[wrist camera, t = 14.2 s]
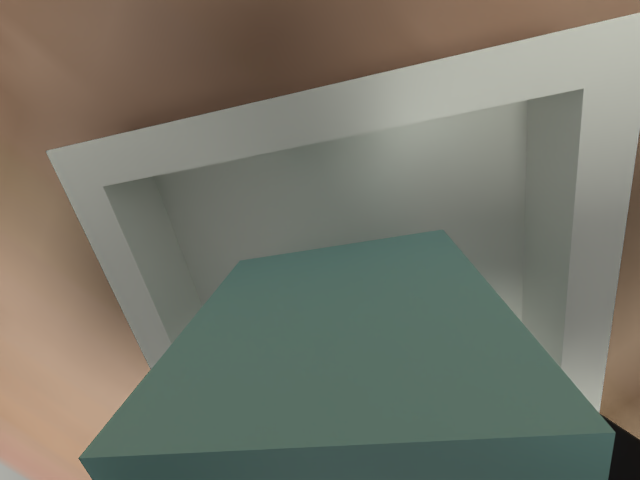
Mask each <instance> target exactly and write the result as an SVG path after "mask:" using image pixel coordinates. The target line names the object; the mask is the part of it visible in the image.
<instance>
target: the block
mask: <svg viewBox="0 0 640 480" xmlns="http://www.w3.org/2000/svg"><path fill="white" fill-rule="evenodd" d="M615 433H616V432H615V431H614V430H613V429H612V428H611V427H610V425H609V424H608V423H607V422H606V421H605V420H604V418H603V417H602V416H601V415H600V414H599V412H598V411H597V410H596V409H595V408H594V407H593V405H592V404H591V403H590V402H589V401H588V400H587V398H586V397H585V396H584V395H583V394H582V392H581V391H580V390H579V389H578V388H577V387H576V385H575V384H574V383H573V382H572V381H571V380H570V378H569V377H568V376H567V375H566V374H565V372H564V371H563V370H562V369H561V368H560V367H559V365H558V364H557V363H556V362H555V361H554V359H553V358H552V357H551V356H550V355H549V354H548V352H547V351H546V350H545V349H544V348H543V347H542V345H541V344H540V343H539V342H538V341H537V339H536V338H535V337H534V336H533V335H532V334H531V332H530V331H529V330H528V329H527V328H526V327H525V325H524V324H523V323H522V322H521V321H520V319H519V318H518V317H517V316H516V315H515V314H514V312H513V311H512V310H511V309H510V308H509V307H508V305H507V304H506V303H505V302H504V301H503V299H502V298H501V297H500V296H499V295H498V294H497V292H496V291H495V290H494V289H493V288H492V287H491V285H490V284H489V283H488V282H487V281H486V279H485V278H484V277H483V276H482V275H481V274H480V272H479V271H478V270H477V269H476V268H475V267H474V265H473V264H472V263H471V262H470V261H469V259H468V258H467V257H466V256H465V255H464V254H463V252H462V251H461V250H460V249H459V248H458V247H457V245H456V244H455V243H454V242H453V241H452V239H451V238H450V237H449V236H448V235H447V234H446V232H445V231H444V230H443V229H442V230H436V231H429V232H423V233H416V234H410V235H403V236H397V237H390V238H384V239H377V240H371V241H364V242H358V243H351V244H345V245H338V246H332V247H325V248H319V249H312V250H306V251H299V252H293V253H286V254H280V255H273V256H266V257H260V258H253V259H247V260H240V261H239V262H238V263H237V265H236V266H235V267H234V268H233V269H232V271H231V272H230V273H229V274H228V276H227V277H226V278H225V279H224V281H223V282H222V283H221V284H220V285H219V287H218V288H217V289H216V290H215V292H214V293H213V294H212V295H211V296H210V298H209V299H208V300H207V301H206V303H205V304H204V305H203V306H202V307H201V309H200V310H199V311H198V312H197V314H196V315H195V316H194V317H193V319H192V320H191V321H190V322H189V323H188V325H187V326H186V327H185V328H184V330H183V331H182V332H181V333H180V334H179V336H178V337H177V338H176V339H175V341H174V342H173V343H172V344H171V345H170V347H169V348H168V349H167V350H166V352H165V353H164V354H163V355H162V357H161V358H160V359H159V360H158V361H157V363H156V364H155V365H154V366H153V368H152V369H151V370H150V371H149V372H148V374H147V375H146V376H145V377H144V379H143V380H142V381H141V382H140V383H139V385H138V386H137V387H136V388H135V390H134V391H133V392H132V393H131V395H130V396H129V397H128V398H127V399H126V401H125V402H124V403H123V404H122V406H121V407H120V408H119V409H118V410H117V412H116V413H115V414H114V415H113V417H112V418H111V419H110V420H109V421H108V423H107V424H106V425H105V426H104V428H103V429H102V430H101V431H100V433H99V434H98V435H97V436H96V437H95V439H94V440H93V441H92V442H91V444H90V445H89V446H88V447H87V448H86V450H85V451H84V452H83V453H82V455H81V456H80V457H79V460H80V461H81V463H82V464H83V466H84V467H85V469H86V470H87V472H88V473H89V475H90V477H91V478H92V480H608V477H609V471H610V464H611V458H612V452H613V446H614V439H615Z"/></svg>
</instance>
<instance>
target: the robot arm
mask: <svg viewBox="0 0 640 480" xmlns="http://www.w3.org/2000/svg"><path fill="white" fill-rule="evenodd" d="M599 414H600V413H599ZM600 415H601V414H600ZM601 416H602V417H603V418H604V420H605V421H606V422H607V423H608V424H609V425H610V427H611V428H612V429H613V430H614V431H615V432H616V433H615V439H614V446H613V452H612V458H611V464H610V471H609V477H608V480H640V440H639V439H638V438H636V437H635V436H633V435H632V434H630V433H629V432H627V431H626V430H624V429H622V428H621V427H619V426H618V425H616V424H615V423H613V422H612V421H610V420H609V419H607V418H606V417H604V416H603V415H601Z"/></svg>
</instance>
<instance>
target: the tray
mask: <svg viewBox="0 0 640 480" xmlns="http://www.w3.org/2000/svg"><path fill="white" fill-rule="evenodd" d="M639 131H640V13H636V14H631V15H627V16H623V17H618V18H614V19H610V20H606V21H601V22H597V23H593V24H588V25H584V26H580V27H576V28H571V29H567V30H563V31H558V32H554V33H550V34H545V35H541V36H537V37H533V38H528V39H524V40H520V41H515V42H511V43H507V44H503V45H498V46H494V47H490V48H485V49H481V50H477V51H472V52H468V53H464V54H460V55H455V56H451V57H447V58H442V59H438V60H434V61H430V62H425V63H421V64H417V65H412V66H408V67H404V68H399V69H395V70H391V71H387V72H382V73H378V74H374V75H369V76H365V77H361V78H357V79H352V80H348V81H344V82H339V83H335V84H331V85H326V86H322V87H318V88H314V89H309V90H305V91H301V92H296V93H292V94H288V95H284V96H279V97H275V98H271V99H266V100H262V101H258V102H253V103H249V104H245V105H241V106H236V107H232V108H228V109H223V110H219V111H215V112H211V113H206V114H202V115H198V116H193V117H189V118H185V119H180V120H176V121H172V122H168V123H163V124H159V125H155V126H150V127H146V128H142V129H138V130H133V131H129V132H125V133H120V134H116V135H112V136H107V137H103V138H99V139H95V140H90V141H86V142H82V143H77V144H73V145H69V146H65V147H60V148H56V149H52V150H47V151H46V153H47V155H48V157H49V159H50V161H51V163H52V166H53V168H54V170H55V172H56V174H57V176H58V178H59V180H60V182H61V184H62V186H63V188H64V190H65V193H66V195H67V197H68V199H69V201H70V203H71V205H72V207H73V209H74V211H75V213H76V215H77V218H78V220H79V222H80V224H81V226H82V228H83V230H84V232H85V234H86V236H87V238H88V240H89V242H90V245H91V247H92V249H93V251H94V253H95V255H96V257H97V259H98V261H99V263H100V265H101V267H102V270H103V272H104V274H105V276H106V278H107V280H108V282H109V284H110V286H111V288H112V290H113V292H114V294H115V297H116V299H117V301H118V303H119V305H120V307H121V309H122V311H123V313H124V315H125V317H126V319H127V322H128V324H129V326H130V328H131V330H132V332H133V334H134V336H135V338H136V340H137V342H138V344H139V347H140V349H141V351H142V353H143V355H144V357H145V359H146V361H147V363H148V365H149V367H150V369H152V368H153V366H154V365H155V364H156V363H157V361H158V360H159V359H160V358H161V357H162V355H163V354H164V353H165V352H166V350H167V349H168V348H169V347H170V345H171V344H172V343H173V342H174V341H175V339H176V338H177V337H178V336H179V334H180V333H181V332H182V331H183V330H184V328H185V327H186V326H187V325H188V323H189V322H190V321H191V320H192V319H193V317H194V316H195V315H196V314H197V312H198V311H199V310H200V309H201V307H202V306H203V305H204V304H205V303H206V301H207V300H208V299H209V298H210V296H211V295H212V294H213V293H214V292H215V290H216V289H217V288H218V287H219V285H220V284H221V283H222V282H223V281H224V279H225V278H226V277H227V276H228V274H229V273H230V272H231V271H232V269H233V268H234V267H235V266H236V265H237V263H238V262H239V261H240V260H247V259H253V258H260V257H266V256H273V255H280V254H286V253H293V252H299V251H306V250H312V249H319V248H325V247H332V246H338V245H345V244H351V243H358V242H364V241H371V240H377V239H384V238H390V237H397V236H403V235H410V234H416V233H423V232H429V231H436V230H442V229H443V230H444V231H445V232H446V234H447V235H448V236H449V237H450V238H451V239H452V241H453V242H454V243H455V244H456V245H457V247H458V248H459V249H460V250H461V251H462V252H463V254H464V255H465V256H466V257H467V258H468V259H469V261H470V262H471V263H472V264H473V265H474V267H475V268H476V269H477V270H478V271H479V272H480V274H481V275H482V276H483V277H484V278H485V279H486V281H487V282H488V283H489V284H490V285H491V287H492V288H493V289H494V290H495V291H496V292H497V294H498V295H499V296H500V297H501V298H502V299H503V301H504V302H505V303H506V304H507V305H508V307H509V308H510V309H511V310H512V311H513V312H514V314H515V315H516V316H517V317H518V318H519V319H520V321H521V322H522V323H523V324H524V325H525V327H526V328H527V329H528V330H529V331H530V332H531V334H532V335H533V336H534V337H535V338H536V339H537V341H538V342H539V343H540V344H541V345H542V347H543V348H544V349H545V350H546V351H547V352H548V354H549V355H550V356H551V357H552V358H553V359H554V361H555V362H556V363H557V364H558V365H559V367H560V368H561V369H562V370H563V371H564V372H565V374H566V375H567V376H568V377H569V378H570V380H571V381H572V382H573V383H574V384H575V385H576V387H577V388H578V389H579V390H580V391H581V392H582V394H583V395H584V396H585V397H586V398H587V400H588V401H589V402H590V403H591V404H592V405H593V407H594V408H595V409H596V410H597V411H598V412H599V411H600V404H601V397H602V390H603V383H604V376H605V369H606V362H607V355H608V348H609V341H610V334H611V327H612V320H613V313H614V306H615V299H616V292H617V285H618V278H619V271H620V264H621V257H622V250H623V243H624V236H625V229H626V222H627V215H628V208H629V201H630V194H631V187H632V180H633V173H634V166H635V159H636V152H637V145H638V138H639Z"/></svg>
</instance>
